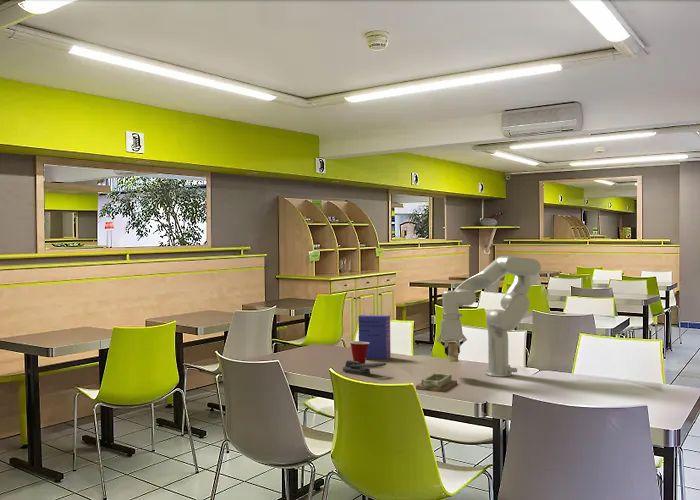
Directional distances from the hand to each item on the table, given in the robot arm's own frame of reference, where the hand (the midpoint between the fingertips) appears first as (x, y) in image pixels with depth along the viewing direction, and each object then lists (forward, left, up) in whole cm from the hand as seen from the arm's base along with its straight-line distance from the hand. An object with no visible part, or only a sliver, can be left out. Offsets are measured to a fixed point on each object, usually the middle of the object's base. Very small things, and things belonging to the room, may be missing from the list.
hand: (452, 354), depth 299 cm
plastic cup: (+56, -15, -11) cm, 59 cm away
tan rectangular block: (0, 0, -2) cm, 2 cm away
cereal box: (+56, -34, -11) cm, 67 cm away
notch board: (+1, +19, -11) cm, 22 cm away
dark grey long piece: (+43, +8, -12) cm, 45 cm away
